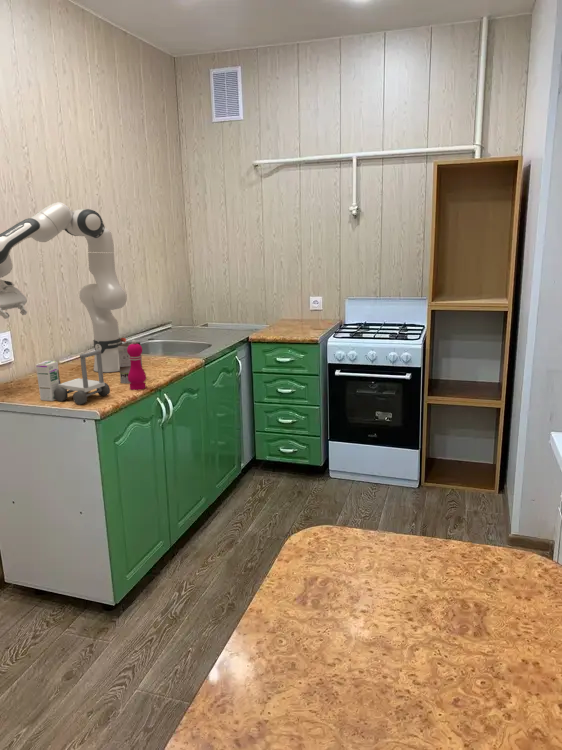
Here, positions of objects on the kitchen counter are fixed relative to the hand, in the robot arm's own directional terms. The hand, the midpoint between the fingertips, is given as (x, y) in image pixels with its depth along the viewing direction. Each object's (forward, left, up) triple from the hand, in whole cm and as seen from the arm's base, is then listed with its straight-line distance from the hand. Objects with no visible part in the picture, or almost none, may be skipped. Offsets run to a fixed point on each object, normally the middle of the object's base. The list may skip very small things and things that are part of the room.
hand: (16, 315), depth 224 cm
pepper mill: (-25, +35, -32) cm, 54 cm away
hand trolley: (-5, +25, -31) cm, 41 cm away
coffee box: (-33, +25, -32) cm, 52 cm away
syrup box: (+1, +14, -32) cm, 35 cm away
